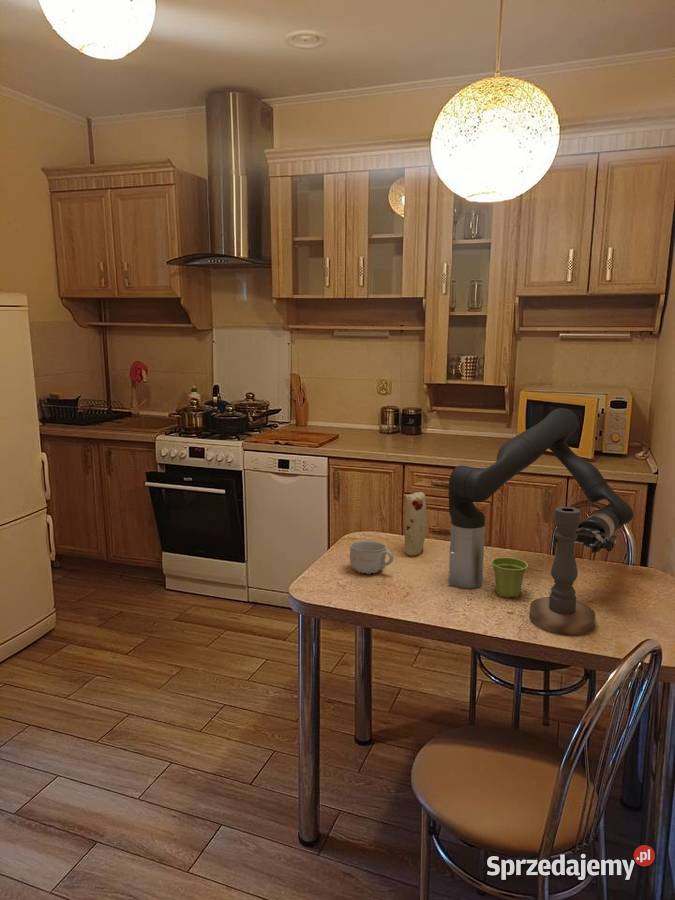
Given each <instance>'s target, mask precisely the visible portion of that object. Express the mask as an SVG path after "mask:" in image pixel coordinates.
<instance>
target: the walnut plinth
mask: <svg viewBox="0 0 675 900" xmlns="http://www.w3.org/2000/svg"><path fill="white" fill-rule="evenodd" d="M549 597H550V596H542V597H538V598H536V599H533V600H532V601H531V602H530V603H529V616H528V618H529V620H530V622H531V623H532V624H533V625H534V626H536V627H537V628H539V629H541V630H542V631H543V630H544V631H546V632H549V633H552V634H557V635H561V636H562V635H563V636H583V635H586V634H589V633H591V632H592V631H594V629H595V625H596V624H595V623H596V612H595V610H594V609H593V608H592V607H590V606H589V605H587V604H585V603H583V602H581V601H579V600H576V611H575V613H573V614H559V613H555V612H553V611H551V610H550V609H549Z"/></svg>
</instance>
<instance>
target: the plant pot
mask: <svg viewBox="0 0 675 900" xmlns="http://www.w3.org/2000/svg"><path fill="white" fill-rule="evenodd" d="M491 565H492V568H493V571H494V581H495V592H496V593H497V594H498V595H499V597H504V598H512V597H513V598H517V597H519V596H520V594H521V590H522V585H523V579H524V577H525V573H526V570H527V569H528V567H529V563H527V562H526V561H524V560H523V559H518V558H514V557H507V556H506V557H504V556H503V557H502V556H501V557H495V558H493V559H492V560H491Z"/></svg>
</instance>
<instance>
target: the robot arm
mask: <svg viewBox="0 0 675 900" xmlns="http://www.w3.org/2000/svg"><path fill="white" fill-rule="evenodd" d="M578 425H579V419H578V417H577V414H575V412H574V411H572V410H571V409H568V408H564V407H560V408H556V409H555V408H554V410H552V411H551V412H549V413H548V414H547V416H546V417H545V418H543V419H542V420H540V422H538V423H537V424H535V425H534V426H531V427H530V428H528V429H525V431H522V432H521V433H519V434H517V435H516V436H514V437H512V438H511V439H509V440H507V441H506V442H505V443H503V444H502V445H501V446H500V448H499V449H498V451H497V453H496V454H497V455H496V461H495V462H494V463H492V464H491V465H490V466H487V467H484V468H479V467H478V468H477V467H473V466H468V465H462V464H461V465H457V466H456V467H454V469H453V470H452V471H451V473H450V475H449V481H448V512H449V516H450V540H449V541H450V543H449V544H450V546H449V556H448V557H449V559H448V561H449V562H448V563H449V564H448V585H449V586H454V587H457V588H462V589H475V588H479V587H481V586H482V584H483V575H484V574H483V572H484V553H485V552H484V551H485V549H484V548H485V531H486V529H485V527H486V516H485V514H484V513H483V512H482V511H481V510H480V509H478V507H477V506H476V505H475V504H474V503H483V502H485V501H486V500H489V499H490V498H492V496H493V495H494V494H495V493H497V491H498V490H499V489H500V488H502V486H504V485H505V484H506V483H507V482H508V481H510V480H512V478H513V477H515V476H516V475H517V474H519V473H520V472H522V471H523V470H525V469H527V468H528V467H530V466H531V465H532V464H533V463H535V462H536V461H537V460H538V459H539V458H540V457H542V455H543V454H544V453H546V451H547V450H548V449H549V450H550V451H551V452H552V454H553V455H554V456H555V457H556V458H557V460H558V461H559V462H560V463H561V464H562V465H563V466H564V468H566V469H567V470H568V472H569V473H570V474H571V476H573V478H574V480H575V481H576V483H577V484H578V486H579V487H580V489H581V491H582V492H583V494H584V495H585V497H586V498H587V500H588V501H589V502H590V503H597V502H600V501H603V500H606V501H608V504H606V505H605V506H604V507H602V508H600V509H598V510H597V511H596V512H594V513H593V514H592V515H589V516H588V517H586V518H585V519H584V520H581V521H580V524H579V525H578V528H577V529H576V531H575V533H576V534H577V535H578V538H577V539H576V540H575V541H574V544H582V545H584V546H585V547H587V548H591V553H592V554H596V553H598V552H600V551H604V549H605V550H606V551H607V552H612V551H613V550H614V549H615V548H616V546H617V545H616V544H617V535H614V534H615V532H617V530H618V529H619V528H621V527H623V526H624V525H626V524H628V523H629V522H631V521H632V520H633V518H634V511H633V507H631V506H630V505H629V503H628V502H627V501H625V500H624V499H623V498H622V497H620V496H619V495H618V494H617V493H616V492H615V491H614V490H613V488H611V486H610V485H609V484H608V482H607V481H606V479H605V478H604V476H603V474H602V473H601V471H599V469H598V468H597V467H596V466H595V465H594V464H592V463H591V462H590V461H588V460H586V459H583V458H582V457H580V456H579V455H578V454H576V453H575V452H574V451H573V450H572V449H571V447H570V446H569V444H568V442H567V441H568V439H570V437H571V436H572V435H573V434H574V433H575V432H576V430H577V429H578ZM557 531H558V529H557V528H556V529H555V530H554V534H555V533H556V532H557ZM554 540H555V543H556V544H557V541H558V539H557V538H556V537H555V535H554Z"/></svg>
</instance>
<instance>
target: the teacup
mask: <svg viewBox="0 0 675 900" xmlns="http://www.w3.org/2000/svg"><path fill="white" fill-rule="evenodd" d="M386 549H387V545H386V544H385V543H382V542H380V541H376V540H373V541H372V540H358V541H354V542H352V543H350V544H349V561H350V566H351V567H352V568H353V569H354V570H355V571H356V572H357V571H358V573H360V572H361V573H360V574H363V573H367V574H366V575H371V573H373V574H377V573H379V572H378V571H381V570H383V569H385V568H386V567H387V566H389V565H390V564H392V563H393V561H394V554H393V552H392V551H391V550H388V549H387V550H386ZM386 555H388V557H389V559H388V561H387V562H386V557H387V556H386Z"/></svg>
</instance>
